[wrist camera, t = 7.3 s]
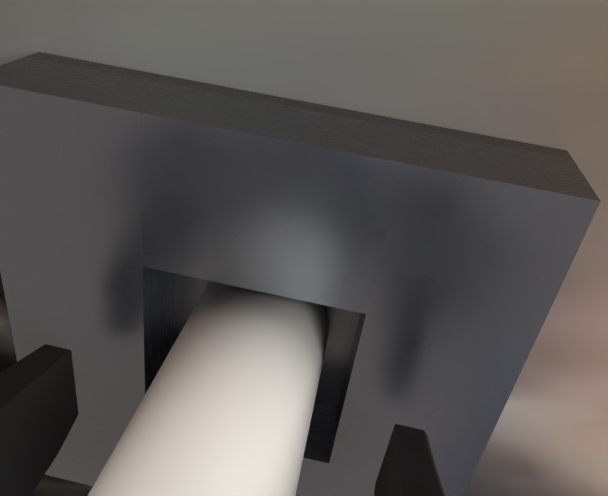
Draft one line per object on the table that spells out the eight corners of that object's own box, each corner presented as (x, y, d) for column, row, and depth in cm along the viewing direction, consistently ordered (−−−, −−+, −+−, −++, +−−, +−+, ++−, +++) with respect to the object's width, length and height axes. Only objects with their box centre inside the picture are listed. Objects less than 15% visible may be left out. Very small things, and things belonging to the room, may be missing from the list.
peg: (340, 283, 14) (286, 550, 8) (316, 385, 16) (259, 662, 10) (202, 252, 14) (51, 489, 8) (195, 356, 16) (67, 611, 10)
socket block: (566, 150, 12) (601, 200, 10) (426, 492, 18) (428, 568, 16) (38, 52, 13) (-36, 78, 11) (79, 411, 19) (37, 472, 17)
